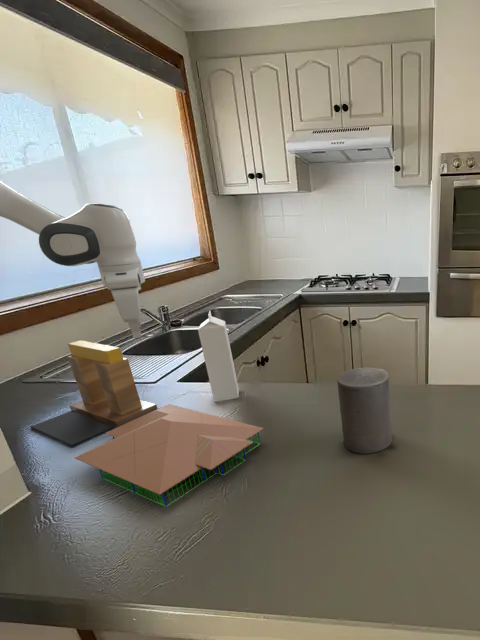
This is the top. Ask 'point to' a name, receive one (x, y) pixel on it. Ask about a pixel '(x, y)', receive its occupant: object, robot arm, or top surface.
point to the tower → (107, 391)
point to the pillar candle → (365, 409)
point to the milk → (218, 359)
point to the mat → (72, 428)
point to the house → (169, 449)
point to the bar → (95, 351)
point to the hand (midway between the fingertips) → (137, 333)
